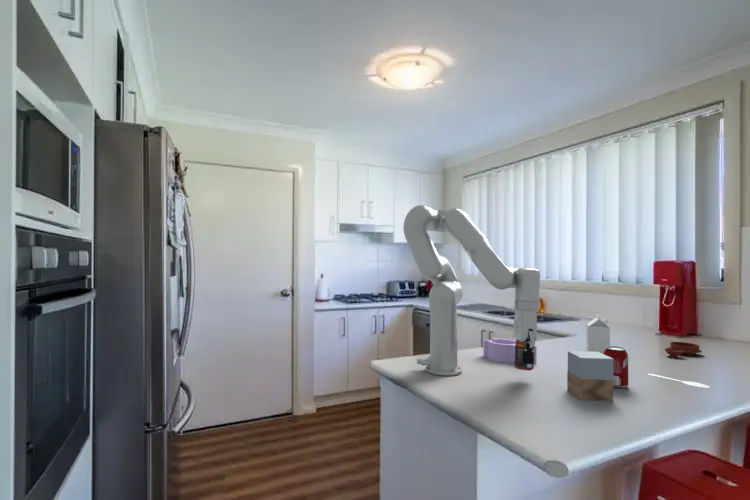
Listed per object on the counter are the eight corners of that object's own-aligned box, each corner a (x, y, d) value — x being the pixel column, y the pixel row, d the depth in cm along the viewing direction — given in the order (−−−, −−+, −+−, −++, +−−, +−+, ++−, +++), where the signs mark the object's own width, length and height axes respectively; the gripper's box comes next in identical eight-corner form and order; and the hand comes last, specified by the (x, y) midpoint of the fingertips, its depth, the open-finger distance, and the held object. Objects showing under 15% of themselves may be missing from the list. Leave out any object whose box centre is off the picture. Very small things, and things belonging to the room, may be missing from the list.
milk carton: (588, 366, 153) (588, 315, 154) (586, 362, 160) (586, 313, 160) (610, 368, 151) (610, 317, 151) (607, 364, 157) (607, 314, 158)
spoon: (651, 373, 146) (651, 372, 146) (713, 387, 130) (713, 385, 130) (643, 375, 143) (643, 374, 143) (706, 390, 127) (706, 388, 127)
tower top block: (580, 379, 116) (580, 357, 116) (567, 370, 125) (567, 351, 125) (613, 380, 116) (613, 358, 116) (597, 371, 125) (597, 351, 125)
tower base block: (580, 400, 116) (580, 379, 116) (567, 390, 125) (567, 370, 125) (613, 401, 116) (613, 380, 116) (597, 391, 125) (597, 371, 125)
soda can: (620, 390, 125) (619, 350, 125) (599, 384, 131) (598, 346, 131) (633, 387, 128) (632, 348, 129) (612, 381, 134) (611, 344, 135)
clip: (541, 362, 159) (541, 344, 160) (525, 367, 151) (525, 349, 151) (496, 353, 174) (496, 337, 175) (479, 357, 166) (479, 340, 166)
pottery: (706, 355, 176) (706, 345, 176) (687, 361, 164) (687, 350, 165) (674, 350, 185) (674, 340, 185) (654, 355, 174) (654, 345, 174)
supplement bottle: (535, 371, 130) (536, 336, 130) (515, 369, 131) (517, 334, 131) (531, 366, 136) (533, 332, 136) (513, 365, 137) (514, 331, 137)
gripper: (507, 302, 143) (505, 353, 142) (523, 308, 125) (520, 367, 125) (529, 303, 142) (527, 355, 142) (548, 310, 125) (545, 369, 125)
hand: (524, 360), depth 134 cm, fingers closed on supplement bottle, 6 cm apart
